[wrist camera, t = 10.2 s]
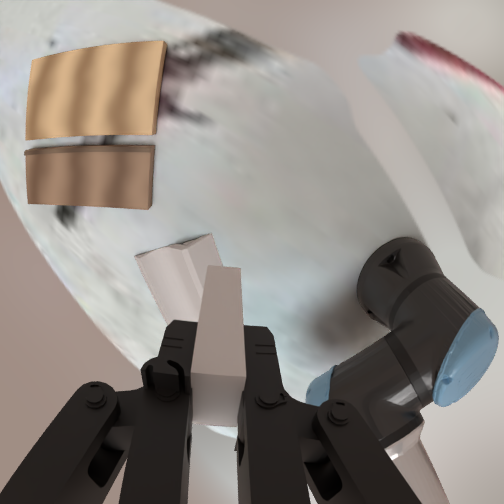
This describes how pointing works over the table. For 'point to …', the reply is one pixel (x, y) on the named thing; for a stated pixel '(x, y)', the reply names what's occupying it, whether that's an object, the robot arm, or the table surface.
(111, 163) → the walnut floor board
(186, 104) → the table surface
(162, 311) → the crown molding
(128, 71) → the oak plank
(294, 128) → the table surface
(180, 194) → the table surface
